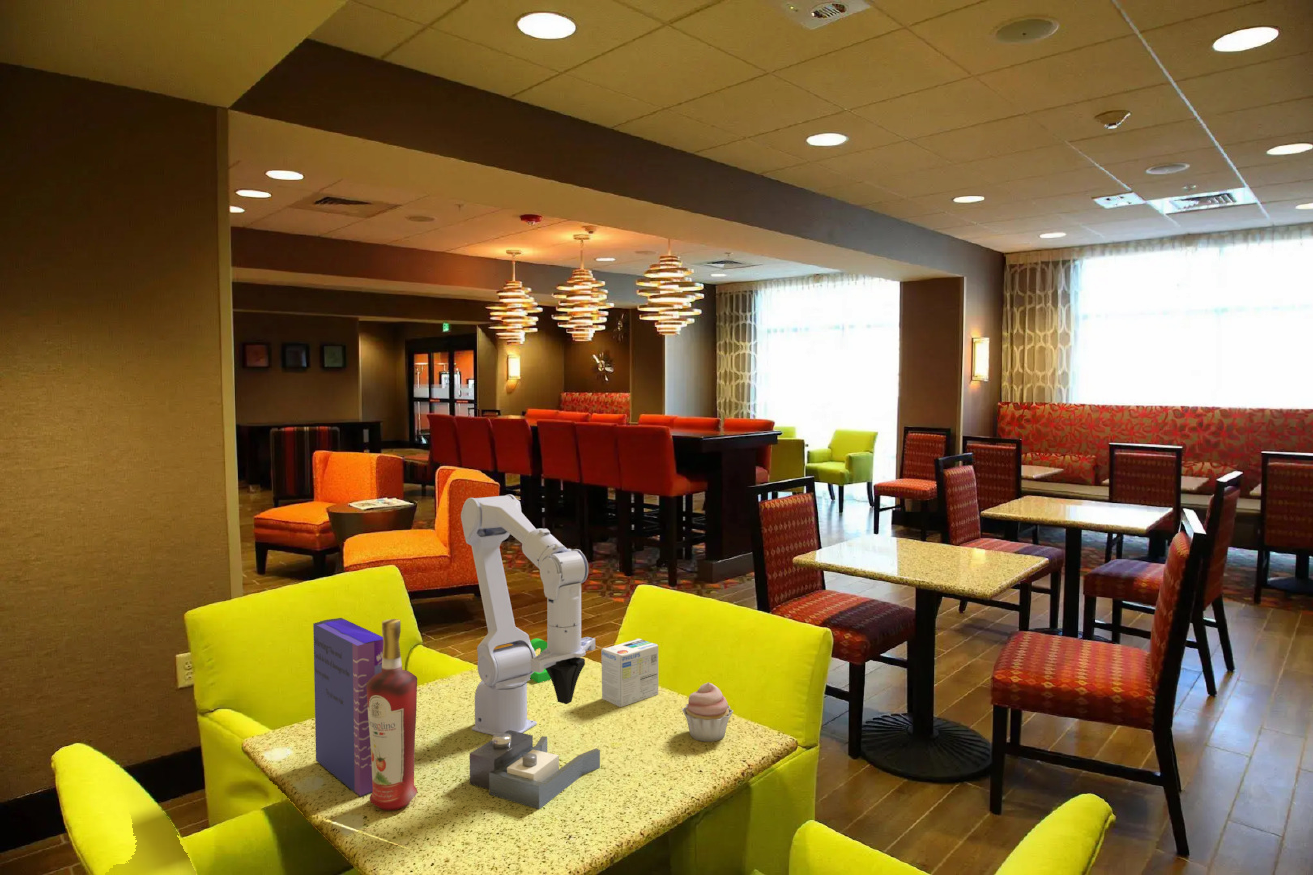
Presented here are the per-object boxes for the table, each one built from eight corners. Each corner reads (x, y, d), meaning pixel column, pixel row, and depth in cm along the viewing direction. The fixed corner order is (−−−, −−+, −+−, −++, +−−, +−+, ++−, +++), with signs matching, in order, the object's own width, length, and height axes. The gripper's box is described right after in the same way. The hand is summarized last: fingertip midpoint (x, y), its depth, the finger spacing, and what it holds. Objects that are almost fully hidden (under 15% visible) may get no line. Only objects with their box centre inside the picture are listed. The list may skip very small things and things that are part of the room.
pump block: (507, 796, 118) (506, 760, 118) (533, 776, 124) (533, 742, 124) (533, 803, 116) (533, 766, 116) (559, 782, 122) (558, 748, 122)
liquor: (357, 811, 113) (354, 626, 112) (387, 788, 120) (384, 613, 119) (400, 818, 111) (397, 630, 110) (428, 794, 118) (426, 616, 117)
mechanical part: (538, 683, 167) (538, 647, 167) (524, 675, 172) (524, 640, 171) (583, 671, 175) (583, 636, 174) (569, 664, 179) (569, 630, 179)
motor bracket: (464, 787, 120) (464, 749, 120) (525, 748, 134) (525, 713, 134) (545, 811, 113) (545, 770, 113) (601, 767, 127) (600, 730, 127)
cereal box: (389, 786, 121) (387, 637, 120) (360, 797, 117) (357, 644, 117) (343, 751, 133) (341, 616, 132) (315, 760, 130) (313, 622, 129)
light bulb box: (638, 686, 164) (638, 637, 164) (659, 695, 159) (659, 644, 159) (600, 699, 157) (599, 647, 157) (620, 708, 152) (620, 655, 152)
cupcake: (696, 750, 133) (696, 694, 133) (673, 730, 142) (673, 677, 141) (742, 741, 137) (742, 686, 137) (717, 722, 146) (717, 670, 145)
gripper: (553, 637, 120) (554, 721, 121) (609, 616, 132) (609, 693, 133) (521, 630, 124) (521, 712, 124) (577, 610, 136) (577, 685, 137)
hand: (564, 701), depth 129 cm, fingers closed
